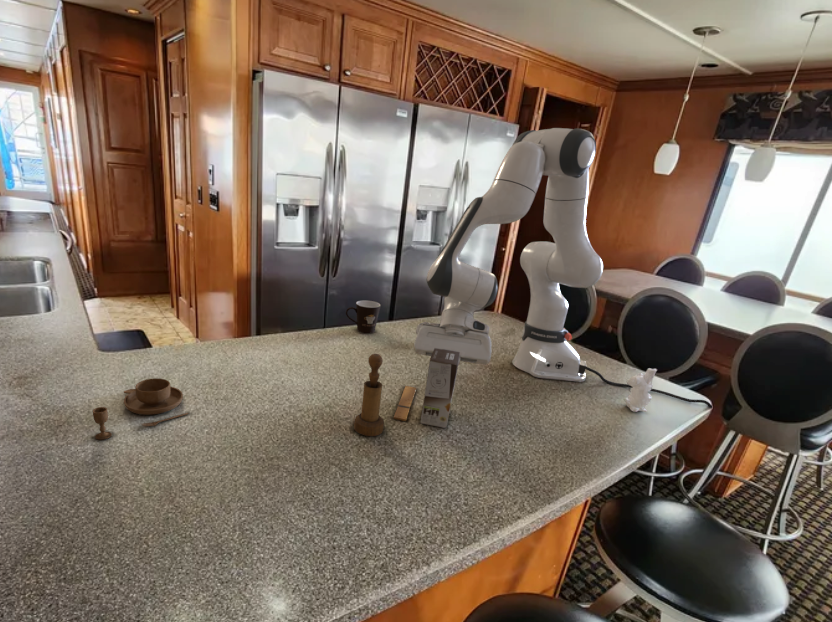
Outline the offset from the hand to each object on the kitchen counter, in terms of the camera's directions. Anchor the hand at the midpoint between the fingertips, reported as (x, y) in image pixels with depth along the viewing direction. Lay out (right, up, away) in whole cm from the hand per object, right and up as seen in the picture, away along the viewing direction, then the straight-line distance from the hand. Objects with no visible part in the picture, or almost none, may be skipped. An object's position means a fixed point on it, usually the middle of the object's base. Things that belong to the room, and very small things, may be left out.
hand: (448, 373), depth 118 cm
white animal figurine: (+53, -10, +8) cm, 54 cm away
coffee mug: (-24, +13, +47) cm, 54 cm away
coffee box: (-4, -10, -8) cm, 14 cm away
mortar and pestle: (-20, -12, -16) cm, 28 cm away
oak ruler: (-11, -7, -3) cm, 14 cm away
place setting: (-71, -7, -18) cm, 74 cm away
